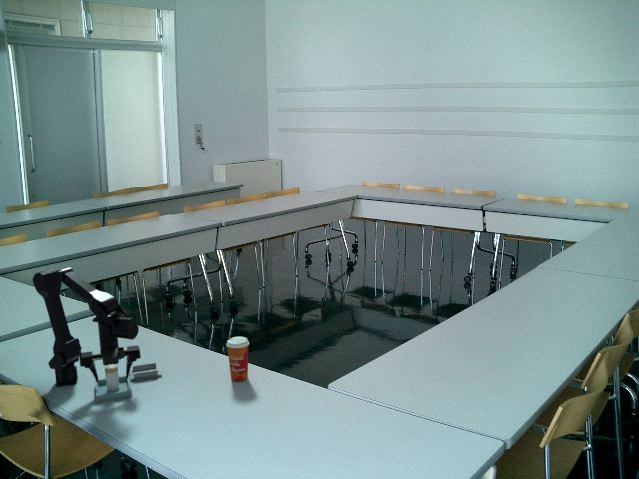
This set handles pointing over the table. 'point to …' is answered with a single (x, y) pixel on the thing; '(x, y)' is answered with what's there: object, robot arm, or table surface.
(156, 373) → the clip rails
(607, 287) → the table surface
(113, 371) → the cylinder
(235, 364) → the paper cup
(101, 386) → the tray
